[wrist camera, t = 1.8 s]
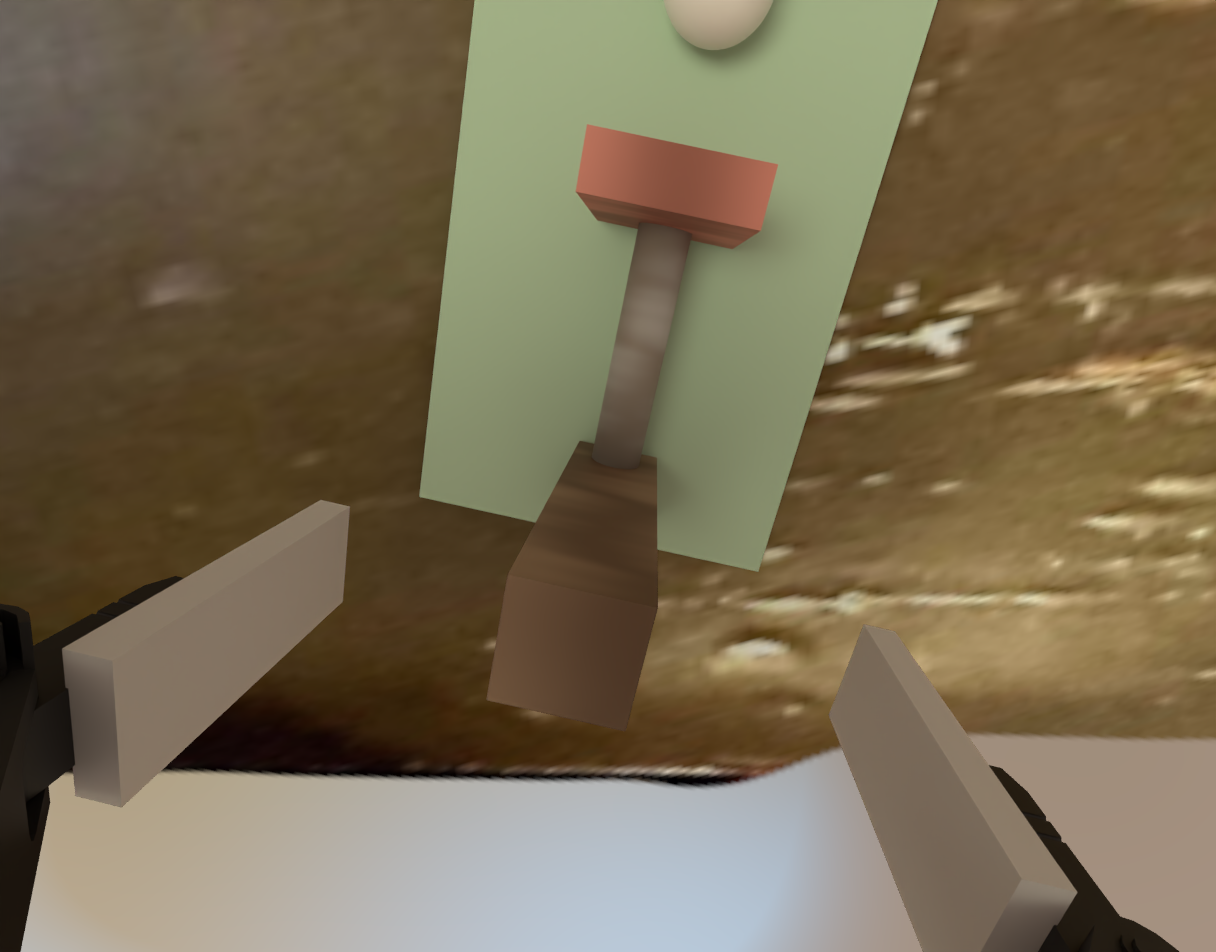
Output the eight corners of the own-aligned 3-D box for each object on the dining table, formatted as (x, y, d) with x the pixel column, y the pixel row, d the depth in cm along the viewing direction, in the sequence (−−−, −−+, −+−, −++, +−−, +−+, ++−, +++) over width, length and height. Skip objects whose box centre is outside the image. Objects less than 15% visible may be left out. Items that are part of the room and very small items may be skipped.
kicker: (544, 508, 25) (447, 691, 13) (606, 172, 21) (544, 16, 9) (660, 533, 25) (664, 740, 13) (744, 201, 21) (854, 80, 9)
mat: (422, 493, 26) (419, 496, 25) (544, -578, 16) (541, -599, 16) (756, 567, 25) (758, 571, 25) (1082, -475, 16) (1092, -494, 15)
